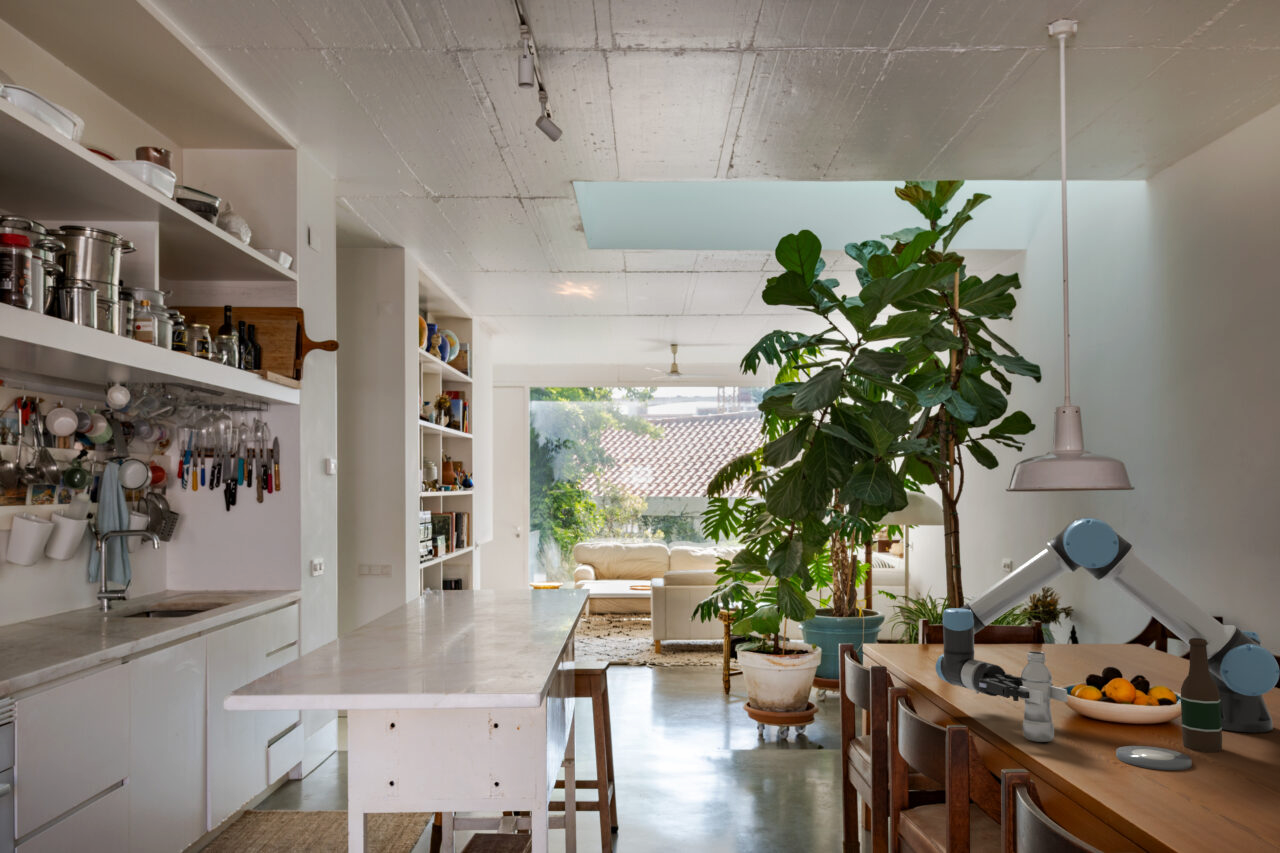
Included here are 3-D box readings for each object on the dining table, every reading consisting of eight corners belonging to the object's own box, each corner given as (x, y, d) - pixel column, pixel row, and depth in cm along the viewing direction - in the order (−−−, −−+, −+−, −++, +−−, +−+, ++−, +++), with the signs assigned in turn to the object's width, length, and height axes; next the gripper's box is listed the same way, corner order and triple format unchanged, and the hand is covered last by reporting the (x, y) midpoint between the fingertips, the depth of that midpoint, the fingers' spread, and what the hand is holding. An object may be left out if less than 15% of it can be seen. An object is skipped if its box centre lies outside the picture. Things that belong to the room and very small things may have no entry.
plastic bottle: (1057, 746, 207) (1055, 655, 209) (1025, 744, 209) (1023, 654, 210) (1051, 738, 214) (1048, 651, 215) (1020, 737, 215) (1017, 649, 217)
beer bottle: (1218, 745, 208) (1213, 637, 210) (1227, 754, 201) (1222, 642, 203) (1178, 742, 211) (1174, 635, 213) (1186, 750, 204) (1182, 640, 205)
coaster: (1184, 755, 200) (1184, 749, 200) (1198, 773, 187) (1197, 766, 187) (1112, 748, 205) (1112, 743, 205) (1121, 766, 192) (1120, 759, 192)
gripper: (1016, 690, 232) (1088, 711, 210) (952, 695, 226) (1019, 717, 204) (1015, 660, 232) (1086, 677, 210) (951, 664, 226) (1018, 682, 204)
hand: (1053, 697), depth 207 cm, fingers closed on plastic bottle, 6 cm apart
